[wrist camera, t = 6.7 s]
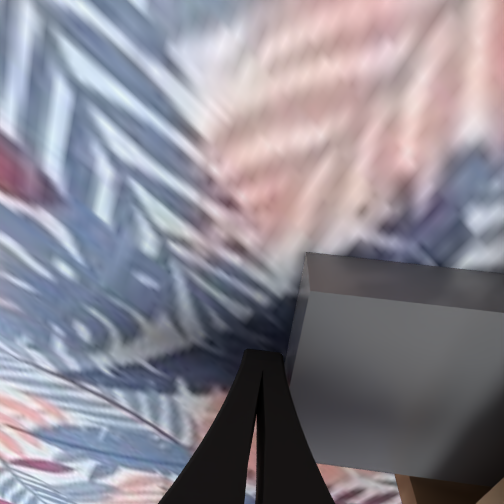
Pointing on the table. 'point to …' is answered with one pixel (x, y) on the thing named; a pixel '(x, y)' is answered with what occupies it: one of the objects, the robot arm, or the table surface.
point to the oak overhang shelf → (446, 491)
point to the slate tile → (400, 368)
